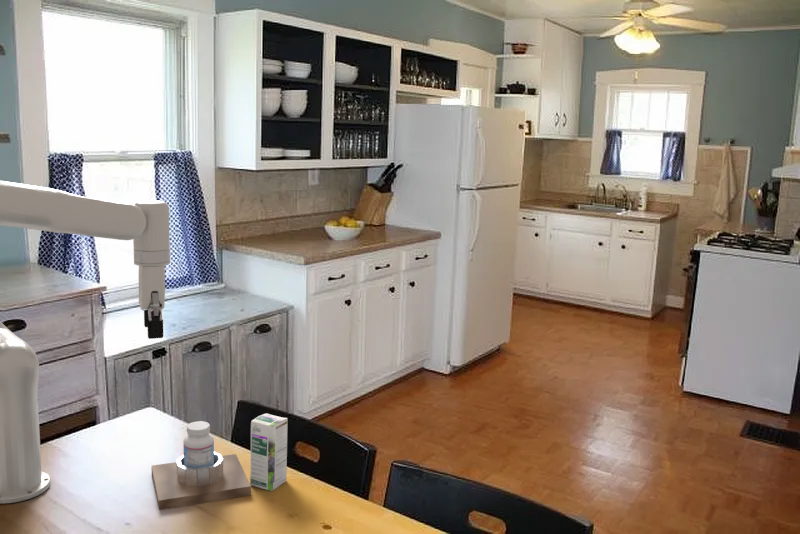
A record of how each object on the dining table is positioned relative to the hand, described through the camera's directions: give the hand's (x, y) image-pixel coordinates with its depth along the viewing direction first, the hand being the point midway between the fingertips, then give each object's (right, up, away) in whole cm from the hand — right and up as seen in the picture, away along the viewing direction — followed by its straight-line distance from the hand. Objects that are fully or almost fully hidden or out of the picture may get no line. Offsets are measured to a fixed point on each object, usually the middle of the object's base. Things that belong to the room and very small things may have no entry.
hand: (153, 332), depth 162 cm
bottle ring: (+13, -29, -10) cm, 34 cm away
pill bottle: (+13, -29, -11) cm, 34 cm away
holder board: (+13, -31, -10) cm, 35 cm away
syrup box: (+27, -32, -8) cm, 43 cm away
